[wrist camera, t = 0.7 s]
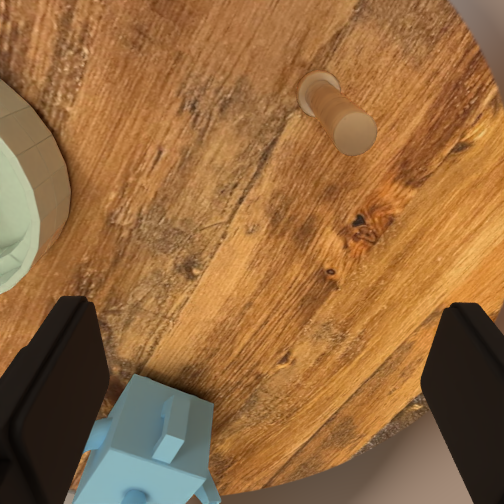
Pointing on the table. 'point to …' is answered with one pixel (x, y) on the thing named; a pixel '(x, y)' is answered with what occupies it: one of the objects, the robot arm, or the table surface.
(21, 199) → the bowl
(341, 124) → the rod
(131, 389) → the teapot
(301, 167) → the table surface
